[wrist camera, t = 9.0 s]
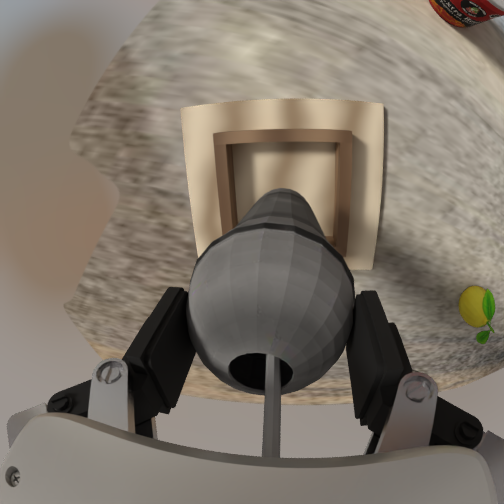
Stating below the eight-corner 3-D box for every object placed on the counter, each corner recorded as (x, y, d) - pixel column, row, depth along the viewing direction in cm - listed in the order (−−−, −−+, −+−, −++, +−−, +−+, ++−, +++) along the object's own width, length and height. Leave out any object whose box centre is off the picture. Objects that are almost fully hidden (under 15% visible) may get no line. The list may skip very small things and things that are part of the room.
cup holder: (380, 104, 25) (392, 102, 21) (370, 265, 34) (377, 282, 30) (183, 108, 28) (169, 107, 24) (202, 264, 37) (193, 280, 33)
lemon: (460, 314, 35) (485, 356, 26) (443, 301, 35) (469, 345, 26) (485, 284, 32) (516, 322, 23) (470, 268, 32) (503, 307, 23)
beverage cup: (288, 150, 20) (241, 419, 2) (346, 223, 22) (427, 496, 4) (219, 209, 23) (58, 441, 5) (276, 271, 24) (235, 523, 7)
